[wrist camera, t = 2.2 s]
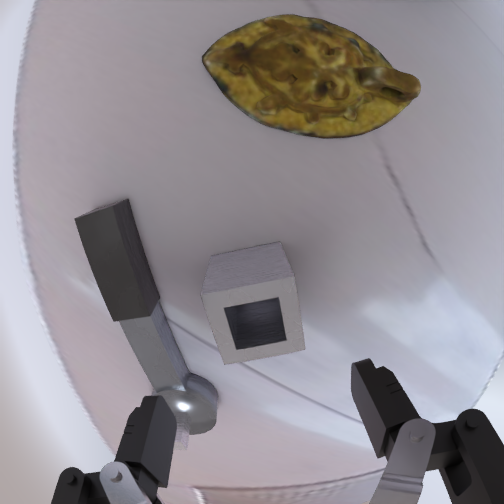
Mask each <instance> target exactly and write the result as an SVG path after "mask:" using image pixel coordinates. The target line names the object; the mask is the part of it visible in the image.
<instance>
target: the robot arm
mask: <svg viewBox="0 0 504 504" xmlns="http://www.w3.org/2000/svg"><path fill="white" fill-rule="evenodd" d="M351 392H352V396H353V400H354V402H355V404H356V407H357V409H358V412H359V414H360V416H361V419H362V421H363V424H364V426H365V428H366V431H367V433H368V436H369V438H370V441H371V443H372V446H373V448H374V451H375V453H376V456H377V458H381V457H383V456H386V459H387V461H388V463H387V465H386V468H385V470H384V473H383V475H382V477H381V479H380V482H379V484H378V486H377V488H376V490H375V492H374V494H373V497H372V499H371V501H370V503H369V504H417V502H418V500H419V497H420V495H421V492H422V488H423V484H422V481H423V478H424V475H425V472H426V471H430V470H436V469H439V472H440V474H441V476H442V479H443V481H444V484H445V486H446V489H447V491H448V494H449V497H450V499H451V502H452V504H504V445H503V443H502V441H501V439H500V438H499V436H498V434H497V433H496V431H495V430H494V428H493V426H492V425H491V423H490V421H489V420H488V418H487V417H486V415H485V414H484V413H483V412H482V411H480V410H478V409H468V410H465V411H463V412H462V413H461V414H460V415H459V416H458V418H457V419H456V420H453V421H448V422H442V423H431V422H429V421H428V420H425V419H422V418H421V417H420V416H419V414H418V413H417V411H416V409H415V408H414V406H413V404H412V403H411V401H410V399H409V398H408V396H407V394H406V393H405V391H404V390H403V388H402V386H401V385H400V383H399V382H398V380H397V378H396V377H395V375H394V373H393V372H392V371H390V370H389V369H387V368H386V367H384V366H382V367H379V368H375V366H374V364H373V362H372V361H371V359H369V358H368V359H365V360H362V361H358V362H355V363H352V366H351ZM176 431H177V421H176V418H175V416H174V414H173V412H172V411H171V409H170V407H169V406H168V404H167V402H166V401H165V399H164V398H163V396H161V395H158V396H145V397H144V398H143V400H142V403H141V406H140V407H136V408H135V409H134V411H133V412H132V413H131V414H130V415H129V418H128V421H127V424H126V427H125V430H124V434H123V436H122V439H121V442H120V445H119V448H118V451H117V454H116V458H115V460H114V462H111V463H108V464H107V465H106V466H104V467H103V468H102V470H101V472H96V473H87V474H84V473H83V472H82V471H81V470H79V469H78V468H75V467H70V468H67V469H65V470H64V471H63V472H62V473H61V474H60V477H59V480H58V483H57V486H56V489H55V493H54V496H53V499H52V502H51V504H165V503H164V502H163V501H162V499H161V498H160V496H159V495H158V494H157V490H158V487H164V488H167V486H168V479H169V473H170V466H171V460H172V454H173V448H174V443H175V437H176Z"/></svg>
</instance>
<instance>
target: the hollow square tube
mask: <svg viewBox="0 0 504 504" xmlns="http://www.w3.org/2000/svg"><path fill="white" fill-rule="evenodd" d="M201 298H202V302H203V305H204V308H205V311H206V314H207V317H208V320H209V323H210V326H211V329H212V332H213V334H214V337H215V340H216V343H217V346H218V349H219V352H220V354H221V357H222V360H223V363H224V365H225V364H232V363H238V362H245V361H250V360H256V359H262V358H267V357H272V356H277V355H282V354H287V353H292V352H297V351H301V350H305V343H304V336H303V328H302V321H301V315H300V308H299V301H298V295H297V288H296V282H295V276H294V274H293V271H292V269H291V266H290V264H289V262H288V259H287V257H286V255H285V252H284V250H283V248H282V245H281V243H280V242H275V243H270V244H265V245H261V246H256V247H251V248H246V249H241V250H237V251H232V252H227V253H222V254H217V255H213V256H211V258H210V262H209V266H208V269H207V273H206V276H205V280H204V284H203V287H202V291H201Z"/></svg>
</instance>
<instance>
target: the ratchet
mask: <svg viewBox="0 0 504 504" xmlns="http://www.w3.org/2000/svg"><path fill="white" fill-rule="evenodd" d="M75 222H76V225H77V229H78V232H79V235H80V238H81V241H82V244H83V247H84V250H85V253H86V255H87V258H88V261H89V264H90V266H91V269H92V272H93V274H94V277H95V279H96V282H97V284H98V287H99V289H100V292H101V294H102V297H103V299H104V301H105V303H106V306H107V308H108V310H109V312H110V315H111V317H112V319H113V321H119V322H120V325H121V327H122V329H123V331H124V333H125V335H126V337H127V339H128V341H129V343H130V345H131V347H132V349H133V351H134V353H135V355H136V357H137V359H138V361H139V362H140V364H141V366H142V368H143V370H144V372H145V373H146V375H147V377H148V379H149V380H150V382H151V384H152V386H153V387H154V389H153V392H152V395H151V396H158V395H161V396H163V398H164V399H165V401H166V402H167V404H168V406H169V407H170V409H171V411H172V412H173V414H174V416H175V418H176V421H177V431H176V437H175V443H174V448H173V450H187V447H188V439H189V435H195V434H201V433H205V432H207V431H209V430H211V429H212V428H213V427H214V426H215V424H216V416H217V402H218V394H217V391H216V389H215V388H214V386H213V385H212V384H211V383H210V382H208V381H207V380H206V379H204V378H202V377H200V376H198V375H195V374H192V373H189V371H188V369H187V367H186V365H185V362H184V360H183V358H182V356H181V354H180V351H179V349H178V347H177V344H176V342H175V340H174V337H173V335H172V333H171V330H170V328H169V325H168V323H167V320H166V318H165V315H164V313H163V310H162V308H161V305H160V303H159V299H160V296H159V294H158V291H157V288H156V285H155V283H154V280H153V277H152V274H151V271H150V268H149V265H148V262H147V260H146V256H145V253H144V250H143V247H142V244H141V241H140V238H139V235H138V231H137V228H136V225H135V221H134V218H133V214H132V211H131V207H130V204H129V200H128V199H126V200H123V201H119V202H116V203H113V204H110V205H107V206H104V207H101V208H98V209H95V210H92V211H90V212H88V213H86V214H84V215H81V216H79V217H77V218H75Z"/></svg>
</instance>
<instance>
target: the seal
mask: <svg viewBox="0 0 504 504" xmlns="http://www.w3.org/2000/svg"><path fill="white" fill-rule="evenodd" d="M202 62H203V64H204V66H205V67H206V69H207V71H208V72H209V73H210V75H211V76H212V78H213V79H214V80H215V82H216V83H217V85H218V86H219V88H220V90H221V91H222V93H223V94H224V95H225V96H226V97H227V98H228V99H229V100H230V101H231V102H232V103H233V104H234V105H235V106H236V107H238V108H239V109H240V110H241V111H243V112H244V113H245V114H247V115H248V116H250V117H251V118H253V119H255V120H256V121H258V122H259V123H262V124H264V125H266V126H269V127H273V128H276V129H280V130H284V131H287V132H291V133H295V134H298V135H303V136H311V137H319V138H345V137H352V136H357V135H362V134H365V133H367V132H370V131H372V130H375V129H377V128H379V127H381V126H383V125H384V124H386V123H388V122H389V121H391V120H392V119H393V118H394V117H395V116H396V115H398V114H399V113H400V112H401V111H402V110H403V109H404V108H405V107H406V106H408V105H409V104H410V102H411V101H412V100H413V99H414V98H416V97H418V95H419V93H420V90H421V85H420V82H419V79H417V78H416V77H415V76H413V75H411V74H407V73H403V72H400V71H397V70H395V69H394V68H393V67H392V66H391V64H390V63H389V62H388V61H387V60H386V59H385V57H384V56H383V55H382V54H381V53H380V52H379V51H378V50H377V49H376V48H375V47H373V46H372V45H371V44H369V43H368V42H367V41H365V40H364V39H362V38H361V37H360V36H358V35H357V34H355V33H354V32H351V31H349V30H347V29H345V28H343V27H340V26H338V25H335V24H332V23H330V22H327V21H325V20H322V19H318V18H310V17H302V16H297V15H278V16H272V17H267V18H264V19H260V20H257V21H254V22H251V23H248V24H246V25H244V26H242V27H240V28H237V29H235V30H233V31H231V32H229V33H227V34H226V35H224V36H223V37H221V38H220V39H219V40H217V41H216V42H215V43H214V44H213V45H212V46H211V47H210V48H209V49H208V50H207V51H206V52H205V54H204V55H203V56H202Z"/></svg>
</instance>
